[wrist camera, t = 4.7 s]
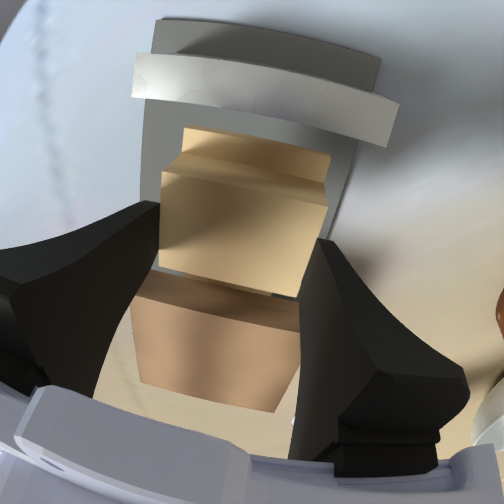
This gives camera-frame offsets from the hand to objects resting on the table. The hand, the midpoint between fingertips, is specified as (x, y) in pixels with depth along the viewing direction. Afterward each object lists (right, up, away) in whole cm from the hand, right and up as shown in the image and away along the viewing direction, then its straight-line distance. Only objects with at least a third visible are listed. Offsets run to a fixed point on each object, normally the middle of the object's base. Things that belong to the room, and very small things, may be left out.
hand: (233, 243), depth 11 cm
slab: (-2, -6, +11) cm, 13 cm away
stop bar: (+2, +9, +5) cm, 10 cm away
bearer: (0, +2, +2) cm, 3 cm away
